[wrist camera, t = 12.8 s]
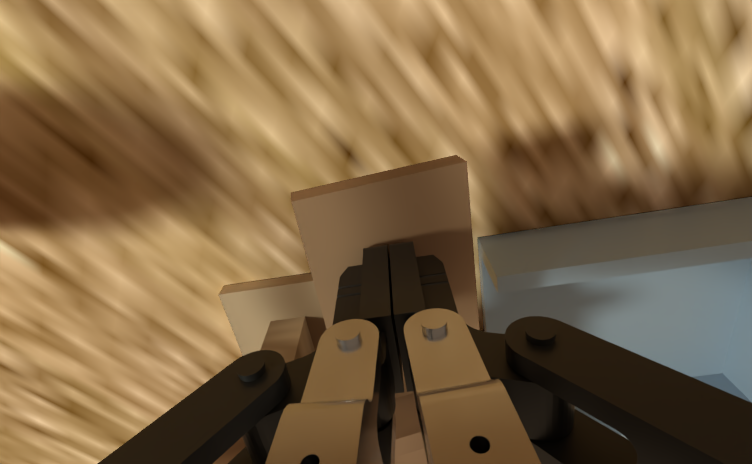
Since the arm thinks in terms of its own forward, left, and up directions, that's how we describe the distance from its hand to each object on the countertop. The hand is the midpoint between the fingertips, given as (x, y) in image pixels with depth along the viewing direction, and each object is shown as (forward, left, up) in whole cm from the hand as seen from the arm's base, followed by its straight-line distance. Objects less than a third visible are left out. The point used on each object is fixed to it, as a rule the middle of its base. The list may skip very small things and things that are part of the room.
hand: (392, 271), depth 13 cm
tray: (+9, +11, -7) cm, 16 cm away
